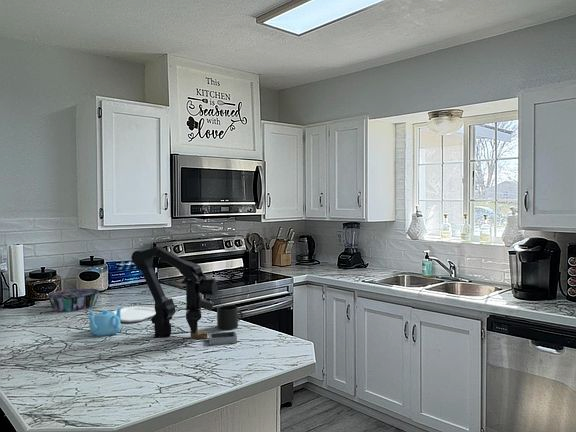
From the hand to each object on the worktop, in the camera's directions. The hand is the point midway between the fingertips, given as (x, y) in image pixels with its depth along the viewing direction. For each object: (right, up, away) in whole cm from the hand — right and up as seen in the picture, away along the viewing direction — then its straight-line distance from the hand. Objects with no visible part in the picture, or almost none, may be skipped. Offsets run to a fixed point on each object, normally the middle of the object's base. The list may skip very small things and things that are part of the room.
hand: (193, 330), depth 198 cm
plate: (-39, -3, +39) cm, 55 cm away
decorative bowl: (-79, -3, +61) cm, 100 cm away
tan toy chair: (+2, -3, 0) cm, 4 cm away
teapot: (-42, -4, +11) cm, 44 cm away
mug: (+14, -3, +16) cm, 21 cm away
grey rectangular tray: (+13, -3, -5) cm, 14 cm away
